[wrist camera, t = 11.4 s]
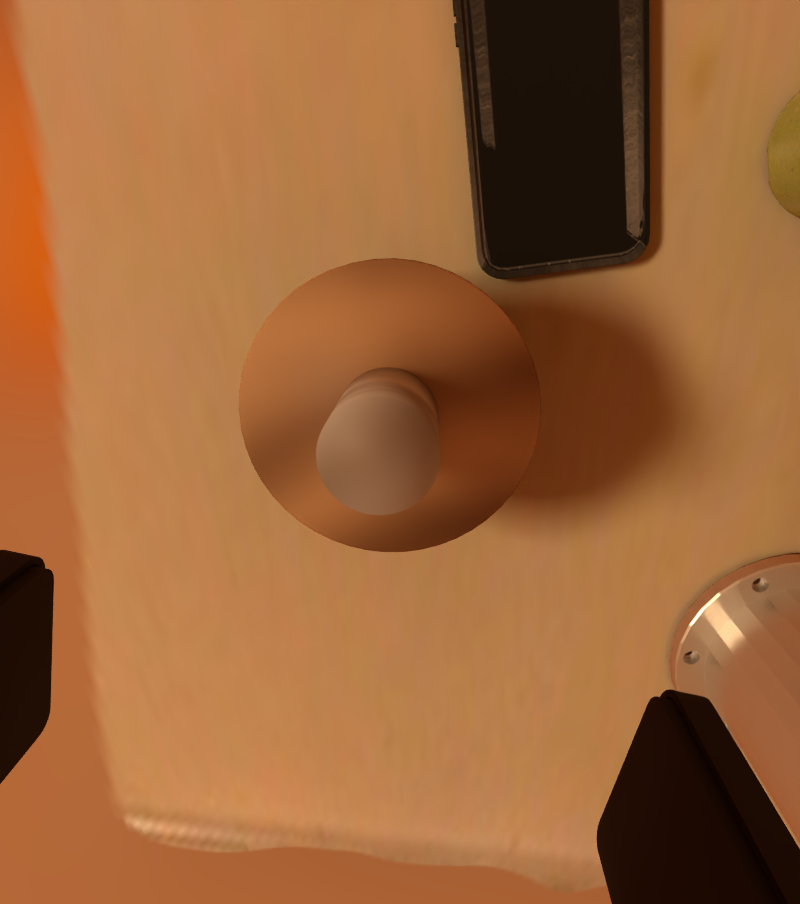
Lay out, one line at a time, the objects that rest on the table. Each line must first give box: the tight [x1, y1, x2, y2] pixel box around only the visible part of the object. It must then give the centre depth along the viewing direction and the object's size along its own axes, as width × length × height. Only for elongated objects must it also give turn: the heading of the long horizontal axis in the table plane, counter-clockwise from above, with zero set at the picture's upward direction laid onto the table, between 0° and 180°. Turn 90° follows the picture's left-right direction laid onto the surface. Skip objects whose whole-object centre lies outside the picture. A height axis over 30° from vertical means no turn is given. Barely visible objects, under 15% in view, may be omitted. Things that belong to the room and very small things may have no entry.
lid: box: [239, 258, 541, 552], centre depth 23 cm, size 12×12×6 cm
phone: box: [453, 0, 650, 279], centre depth 27 cm, size 8×1×15 cm
